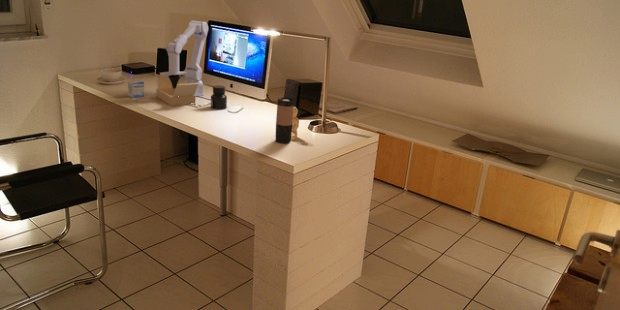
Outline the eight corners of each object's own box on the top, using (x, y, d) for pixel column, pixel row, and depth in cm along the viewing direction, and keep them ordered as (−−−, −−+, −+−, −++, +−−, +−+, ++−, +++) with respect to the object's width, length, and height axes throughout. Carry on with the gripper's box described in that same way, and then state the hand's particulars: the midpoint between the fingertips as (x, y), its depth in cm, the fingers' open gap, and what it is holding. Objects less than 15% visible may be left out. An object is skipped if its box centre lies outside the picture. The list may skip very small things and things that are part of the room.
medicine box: (132, 98, 276) (132, 83, 273) (128, 96, 278) (127, 81, 275) (144, 96, 282) (144, 81, 279) (140, 94, 284) (139, 80, 281)
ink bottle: (216, 104, 278) (216, 84, 274) (229, 107, 275) (230, 86, 271) (207, 108, 269) (207, 86, 265) (221, 110, 266) (221, 89, 262)
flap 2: (193, 94, 273) (193, 95, 273) (172, 96, 265) (172, 96, 265) (198, 83, 265) (198, 83, 265) (177, 84, 258) (177, 85, 258)
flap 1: (158, 88, 280) (158, 88, 281) (178, 87, 288) (178, 86, 288) (160, 73, 275) (160, 72, 275) (180, 72, 282) (180, 71, 282)
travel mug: (291, 144, 222) (294, 101, 215) (274, 143, 221) (277, 100, 215) (290, 139, 229) (294, 97, 223) (274, 138, 229) (277, 96, 222)
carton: (179, 95, 291) (179, 87, 289) (195, 104, 275) (195, 95, 273) (156, 97, 282) (156, 88, 280) (171, 106, 266) (171, 97, 264)
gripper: (164, 66, 266) (164, 90, 270) (189, 65, 274) (189, 88, 279) (159, 63, 271) (160, 87, 275) (183, 63, 279) (184, 86, 284)
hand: (174, 88), depth 277 cm, fingers closed
